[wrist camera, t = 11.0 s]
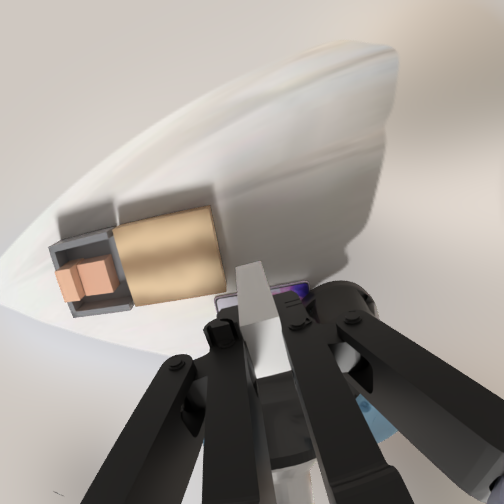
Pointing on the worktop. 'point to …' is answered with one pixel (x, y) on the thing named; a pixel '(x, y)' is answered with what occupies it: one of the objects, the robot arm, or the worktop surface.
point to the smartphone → (299, 287)
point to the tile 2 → (98, 275)
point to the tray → (88, 248)
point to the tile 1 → (70, 281)
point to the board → (171, 256)
